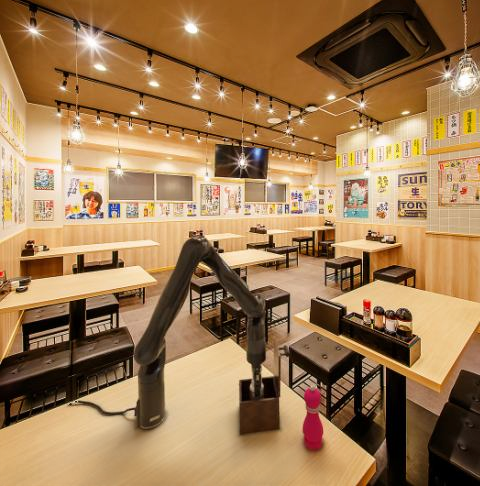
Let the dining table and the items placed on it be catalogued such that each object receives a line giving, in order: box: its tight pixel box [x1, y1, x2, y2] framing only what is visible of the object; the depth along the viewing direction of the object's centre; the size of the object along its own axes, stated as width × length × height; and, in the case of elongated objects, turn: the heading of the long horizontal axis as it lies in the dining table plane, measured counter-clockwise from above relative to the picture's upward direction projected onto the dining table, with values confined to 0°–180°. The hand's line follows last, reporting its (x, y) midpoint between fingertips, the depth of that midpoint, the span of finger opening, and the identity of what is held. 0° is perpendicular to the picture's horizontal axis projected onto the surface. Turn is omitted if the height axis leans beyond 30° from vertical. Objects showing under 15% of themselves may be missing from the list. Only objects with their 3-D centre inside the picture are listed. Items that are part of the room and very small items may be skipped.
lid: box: [273, 338, 291, 398], centre depth 101 cm, size 15×13×5 cm
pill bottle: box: [250, 378, 264, 401], centre depth 99 cm, size 5×5×10 cm
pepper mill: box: [302, 384, 324, 451], centre depth 89 cm, size 7×7×20 cm
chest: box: [238, 375, 281, 436], centre depth 100 cm, size 15×13×12 cm
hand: (256, 390), depth 99 cm, fingers closed on pill bottle, 5 cm apart
